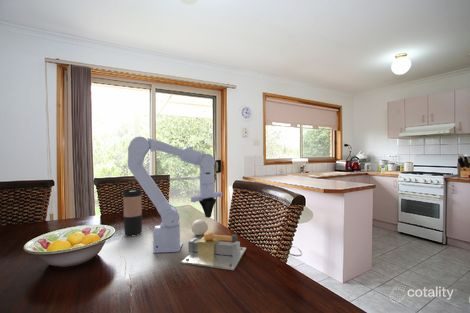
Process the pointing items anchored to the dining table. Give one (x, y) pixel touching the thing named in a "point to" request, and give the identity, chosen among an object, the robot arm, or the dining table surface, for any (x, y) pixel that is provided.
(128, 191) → the travel mug
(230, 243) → the pipe valve
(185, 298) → the dining table surface
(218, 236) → the lever
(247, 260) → the dining table surface
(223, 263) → the mounting plate
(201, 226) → the baseball
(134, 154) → the robot arm
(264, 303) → the dining table surface
